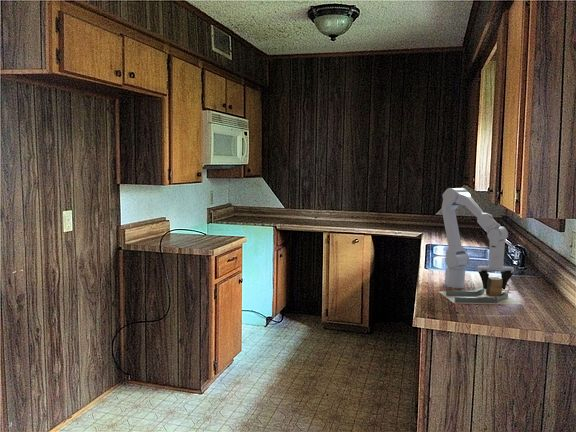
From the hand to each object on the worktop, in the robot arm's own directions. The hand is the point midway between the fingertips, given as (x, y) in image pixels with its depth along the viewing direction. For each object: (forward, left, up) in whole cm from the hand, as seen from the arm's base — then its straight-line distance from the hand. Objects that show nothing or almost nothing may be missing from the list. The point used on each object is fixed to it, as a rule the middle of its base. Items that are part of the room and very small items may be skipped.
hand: (494, 288), depth 207 cm
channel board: (+4, -8, -3) cm, 10 cm away
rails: (+4, -8, -3) cm, 10 cm away
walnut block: (0, 0, -3) cm, 3 cm away
